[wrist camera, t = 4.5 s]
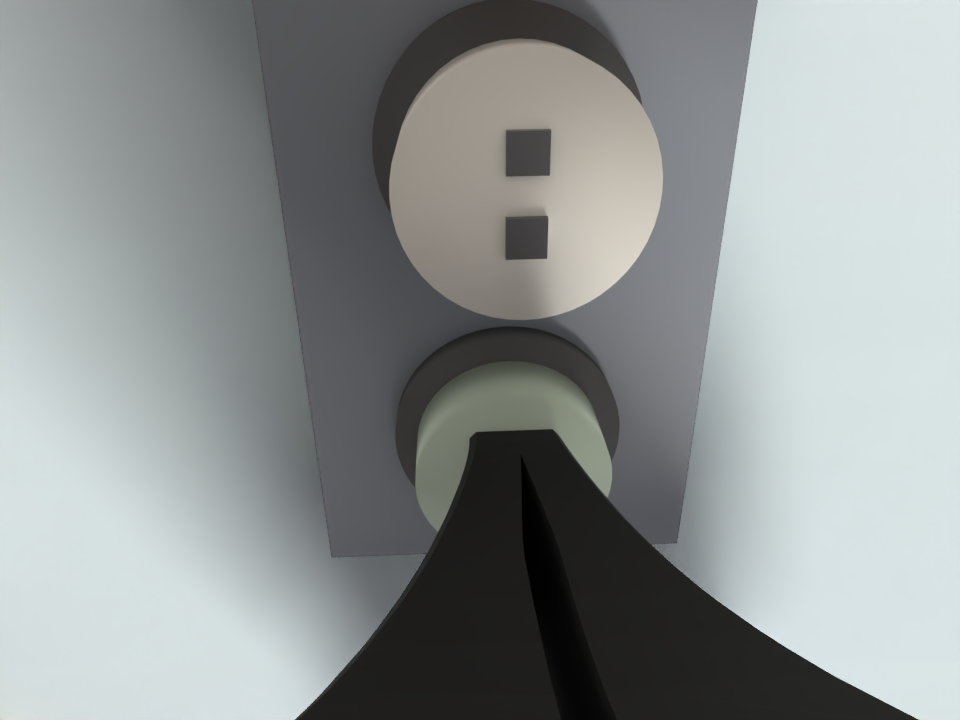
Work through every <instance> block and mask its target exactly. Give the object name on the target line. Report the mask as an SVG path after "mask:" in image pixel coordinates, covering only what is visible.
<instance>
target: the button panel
mask: <svg viewBox="0 0 960 720" xmlns="http://www.w3.org/2000/svg"><path fill="white" fill-rule="evenodd" d="M252 2H253V9H254V16H255V23H256V30H257V37H258V44H259V51H260V58H261V65H262V72H263V79H264V86H265V93H266V100H267V107H268V114H269V121H270V128H271V136H272V143H273V150H274V157H275V164H276V171H277V178H278V185H279V192H280V199H281V206H282V213H283V220H284V227H285V234H286V241H287V248H288V255H289V262H290V269H291V276H292V283H293V290H294V297H295V304H296V311H297V318H298V325H299V332H300V339H301V346H302V353H303V360H304V367H305V374H306V381H307V388H308V395H309V402H310V409H311V416H312V423H313V430H314V437H315V444H316V451H317V458H318V465H319V472H320V479H321V486H322V493H323V500H324V507H325V514H326V521H327V528H328V535H329V542H330V549H331V556H332V557H355V556H379V555H403V554H427V553H428V551H429V549H430V547H431V545H432V543H433V541H434V539H435V537H436V535H437V533H438V532H437V531H436V529H435V528H434V527H433V526H432V525H431V524H430V523H429V521H428V520H427V518H426V517H425V515H424V514H423V512H422V510H421V508H420V505H419V502H418V499H417V494H416V488H415V475H416V457H417V438H418V430H419V424H420V421H421V418H422V415H423V413H424V411H425V409H426V407H427V405H428V404H429V402H430V401H431V400H432V398H433V397H434V395H435V394H436V393H437V392H438V391H439V390H440V389H441V388H442V387H443V386H444V385H446V384H447V383H448V382H449V381H451V380H452V379H454V378H455V377H457V376H458V375H460V374H462V373H464V372H466V371H468V370H470V369H472V368H475V367H478V366H481V365H485V364H489V363H494V362H503V361H523V362H530V363H535V364H539V365H543V366H546V367H548V368H551V369H553V370H556V371H558V372H559V373H561V374H563V375H565V376H566V377H568V378H569V379H570V380H572V381H573V382H574V383H575V384H576V385H577V386H578V387H579V388H580V389H581V390H582V391H583V392H584V394H585V395H586V396H587V398H588V399H589V401H590V403H591V405H592V407H593V409H594V412H595V415H596V417H597V420H598V423H599V426H600V429H601V432H602V435H603V437H604V440H605V443H606V446H607V449H608V452H609V455H610V458H611V464H612V482H611V488H610V492H609V495H608V499H609V500H610V502H611V503H612V504H613V505H614V506H615V507H616V508H617V510H618V511H619V512H620V513H621V514H622V515H623V516H624V517H625V518H626V519H627V520H628V522H629V523H630V524H631V525H632V526H633V527H634V528H635V529H636V530H637V531H638V532H639V533H640V534H641V535H642V536H643V537H644V538H645V539H646V540H647V541H648V542H649V543H650V544H666V543H677V538H678V532H679V525H680V518H681V512H682V505H683V498H684V491H685V485H686V478H687V471H688V464H689V458H690V451H691V444H692V437H693V431H694V424H695V417H696V411H697V404H698V397H699V390H700V384H701V377H702V370H703V363H704V357H705V350H706V343H707V336H708V330H709V323H710V316H711V309H712V303H713V296H714V289H715V283H716V276H717V269H718V262H719V256H720V249H721V242H722V235H723V229H724V222H725V215H726V208H727V202H728V195H729V188H730V181H731V175H732V168H733V161H734V155H735V148H736V141H737V134H738V128H739V121H740V114H741V107H742V101H743V94H744V87H745V80H746V74H747V67H748V60H749V53H750V47H751V40H752V33H753V27H754V20H755V13H756V6H757V0H252ZM518 38H520V39H537V40H542V41H547V42H552V43H555V44H558V45H560V46H563V47H566V48H569V49H571V50H573V51H574V52H576V53H578V54H580V55H582V56H584V57H586V58H587V59H589V60H591V61H593V62H595V63H596V64H598V65H600V66H602V67H603V68H605V69H606V70H607V71H609V72H610V73H611V74H613V75H614V76H616V77H617V78H618V79H619V80H620V81H621V82H622V83H623V84H624V85H625V86H626V87H627V88H628V89H629V90H630V91H631V92H632V93H633V95H634V96H635V97H636V99H637V100H638V101H639V103H640V104H641V105H642V107H643V109H644V110H645V112H646V114H647V116H648V118H649V119H650V121H651V124H652V126H653V129H654V131H655V134H656V137H657V140H658V144H659V148H660V153H661V157H662V168H663V188H662V197H661V203H660V209H659V212H658V216H657V219H656V222H655V226H654V228H653V230H652V233H651V235H650V237H649V239H648V242H647V243H646V245H645V247H644V248H643V250H642V252H641V253H640V255H639V257H638V258H637V259H636V261H635V262H634V263H633V265H632V266H631V267H630V268H629V270H628V271H627V272H626V273H625V274H624V275H623V276H622V277H621V278H620V279H619V280H618V281H617V282H616V283H615V284H614V285H613V286H611V287H610V288H609V289H608V290H606V291H605V292H604V293H603V294H601V295H600V296H598V297H596V298H595V299H593V300H592V301H590V302H588V303H586V304H584V305H582V306H580V307H578V308H576V309H574V310H571V311H568V312H565V313H562V314H559V315H556V316H551V317H546V318H541V319H531V320H507V319H501V318H494V317H490V316H486V315H482V314H479V313H476V312H473V311H471V310H468V309H466V308H464V307H461V306H460V305H458V304H456V303H454V302H453V301H451V300H449V299H447V298H446V297H445V296H443V295H442V294H441V293H439V292H438V291H437V290H435V289H434V288H433V287H432V286H431V285H430V284H429V283H428V282H427V281H426V280H425V279H424V278H423V277H422V276H421V275H420V273H419V272H418V271H417V270H416V268H415V267H414V266H413V265H412V263H411V261H410V260H409V258H408V256H407V255H406V253H405V251H404V250H403V247H402V245H401V243H400V240H399V238H398V236H397V233H396V230H395V226H394V223H393V219H392V214H391V207H390V200H389V179H390V171H391V163H392V159H393V156H394V152H395V148H396V144H397V141H398V137H399V133H400V130H401V126H402V123H403V121H404V119H405V116H406V114H407V111H408V109H409V107H410V106H411V104H412V102H413V101H414V99H415V97H416V95H417V94H418V93H419V91H420V90H421V89H422V87H423V86H424V85H425V84H426V82H427V81H428V80H429V79H430V78H431V77H432V76H433V75H434V74H435V73H436V72H437V71H438V70H439V69H440V68H442V67H443V66H444V65H446V64H447V63H448V62H450V61H451V60H452V59H454V58H456V57H457V56H459V55H461V54H463V53H465V52H466V51H468V50H470V49H473V48H476V47H478V46H481V45H483V44H487V43H491V42H495V41H499V40H507V39H518Z"/></svg>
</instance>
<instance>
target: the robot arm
mask: <svg viewBox="0 0 960 720" xmlns="http://www.w3.org/2000/svg"><path fill="white" fill-rule="evenodd" d="M295 720H918V719H916V718H914V717H912V716H910V715H908V714H906V713H904V712H902V711H900V710H899V709H897V708H895V707H893V706H891V705H889V704H887V703H885V702H883V701H881V700H879V699H877V698H875V697H873V696H871V695H869V694H867V693H866V692H864V691H862V690H860V689H858V688H856V687H854V686H852V685H850V684H848V683H846V682H844V681H842V680H840V679H838V678H837V677H835V676H833V675H831V674H829V673H828V672H826V671H824V670H823V669H821V668H819V667H818V666H816V665H814V664H813V663H811V662H809V661H808V660H806V659H804V658H802V657H801V656H799V655H797V654H796V653H794V652H792V651H791V650H789V649H787V648H786V647H784V646H783V645H781V644H779V643H778V642H776V641H775V640H773V639H772V638H770V637H769V636H767V635H765V634H764V633H762V632H761V631H759V630H758V629H756V628H755V627H753V626H752V625H751V624H749V623H748V622H746V621H745V620H744V619H742V618H741V617H739V616H738V615H736V614H735V613H734V612H732V611H731V610H729V609H728V608H727V607H725V606H724V605H722V604H721V603H719V602H718V601H717V600H715V599H714V598H713V597H712V596H710V595H709V594H708V593H706V592H705V591H704V590H702V589H701V588H700V587H699V586H697V585H696V584H695V583H694V582H692V581H691V580H690V579H689V578H688V577H687V576H685V575H684V574H683V573H682V572H681V571H679V570H678V569H677V568H676V567H675V566H674V565H672V564H671V563H670V562H669V561H668V560H667V559H666V558H665V557H664V556H663V555H662V554H661V553H659V552H658V551H657V550H656V549H655V548H654V547H653V546H652V545H651V544H650V543H649V542H648V541H647V540H646V539H645V538H644V537H643V536H642V535H641V534H640V533H639V532H638V531H637V530H636V529H635V528H634V527H633V526H632V525H631V524H630V523H629V522H628V520H627V519H626V518H625V517H624V516H623V515H622V514H621V513H620V512H619V511H618V510H617V508H616V507H615V506H614V505H613V504H612V503H611V502H610V500H609V499H608V498H607V497H606V496H605V495H604V494H603V492H602V491H601V490H600V489H599V488H598V487H597V485H596V484H595V483H594V482H593V480H592V479H591V478H590V477H589V475H588V474H587V473H586V472H585V470H584V469H583V468H582V467H581V465H580V464H579V463H578V461H577V460H576V459H575V457H574V456H573V455H572V453H571V452H570V450H569V449H568V448H567V446H566V445H565V443H564V442H563V440H562V439H561V437H560V436H559V435H558V434H557V433H556V432H555V431H554V430H553V429H541V430H514V431H486V432H476V433H475V434H474V435H472V436H471V437H470V438H469V451H468V456H467V461H466V464H465V468H464V471H463V474H462V477H461V480H460V483H459V486H458V488H457V491H456V493H455V496H454V498H453V501H452V503H451V506H450V508H449V511H448V513H447V515H446V517H445V519H444V521H443V523H442V525H441V527H440V529H439V531H438V533H437V535H436V537H435V539H434V541H433V543H432V545H431V547H430V549H429V551H428V553H427V554H426V556H425V558H424V560H423V561H422V563H421V565H420V567H419V568H418V570H417V572H416V573H415V575H414V577H413V578H412V580H411V581H410V583H409V584H408V586H407V587H406V589H405V591H404V592H403V594H402V595H401V597H400V598H399V600H398V601H397V602H396V604H395V605H394V606H393V608H392V609H391V611H390V612H389V613H388V615H387V616H386V617H385V619H384V620H383V622H382V623H381V624H380V626H379V627H378V628H377V630H376V631H375V632H374V634H373V635H372V636H371V637H370V639H369V640H368V641H367V642H366V644H365V645H364V646H363V647H362V649H361V650H360V651H359V652H358V653H357V654H356V655H355V657H354V658H353V659H352V660H351V661H350V662H349V663H348V664H347V666H346V667H345V668H344V669H343V670H342V671H341V672H340V673H339V675H338V676H337V677H336V678H335V679H334V680H333V681H332V682H331V684H330V685H329V686H328V687H327V688H326V689H325V690H324V692H323V693H322V694H321V695H320V696H319V697H318V698H317V699H316V700H315V701H314V702H313V703H312V704H311V705H310V706H309V707H308V708H307V709H306V710H305V711H304V712H303V713H302V714H300V715H299V716H298V717H297V718H296V719H295Z"/></svg>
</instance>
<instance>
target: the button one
mask: <svg viewBox="0 0 960 720" xmlns="http://www.w3.org/2000/svg"><path fill="white" fill-rule="evenodd" d="M541 429H553V430H554V431H555V432H556V433H557V434H558V435H559V436H560V437H561V439H562V440H563V442H564V443H565V445H566V446H567V448H568V449H569V450H570V452H571V453H572V455H573V456H574V457H575V459H576V460H577V461H578V463H579V464H580V465H581V467H582V468H583V469H584V470H585V472H586V473H587V474H588V475H589V477H590V478H591V479H592V480H593V482H594V483H595V484H596V485H597V487H598V488H599V489H600V490H601V491H602V492H603V494H604V495H605V496H606V497H607V498H608V495H609V492H610V488H611V482H612V464H611V458H610V455H609V452H608V449H607V446H606V443H605V440H604V437H603V435H602V432H601V429H600V426H599V423H598V420H597V417H596V415H595V412H594V409H593V407H592V405H591V403H590V401H589V399H588V398H587V396H586V395H585V394H584V392H583V391H582V390H581V389H580V388H579V387H578V386H577V385H576V384H575V383H574V382H573V381H572V380H570V379H569V378H568V377H566V376H565V375H563V374H561V373H559V372H558V371H556V370H553V369H551V368H548V367H546V366H543V365H539V364H535V363H530V362H523V361H503V362H494V363H489V364H485V365H481V366H478V367H475V368H472V369H470V370H468V371H466V372H464V373H462V374H460V375H458V376H457V377H455V378H454V379H452V380H451V381H449V382H448V383H447V384H446V385H444V386H443V387H442V388H441V389H440V390H439V391H438V392H437V393H436V394H435V395H434V397H433V398H432V400H431V401H430V402H429V404H428V405H427V407H426V409H425V411H424V413H423V415H422V418H421V421H420V424H419V430H418V438H417V457H416V475H415V488H416V494H417V499H418V502H419V505H420V508H421V510H422V512H423V514H424V515H425V517H426V518H427V520H428V521H429V523H430V524H431V525H432V526H433V527H434V528H435V529H436V531H437V532H438V531H439V529H440V527H441V525H442V523H443V521H444V519H445V517H446V515H447V513H448V511H449V508H450V506H451V503H452V501H453V498H454V496H455V493H456V491H457V488H458V486H459V483H460V480H461V477H462V474H463V471H464V468H465V464H466V461H467V456H468V451H469V438H470V437H471V436H472V435H474V434H475V433H476V432H486V431H514V430H541Z"/></svg>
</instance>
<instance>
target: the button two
mask: <svg viewBox="0 0 960 720" xmlns="http://www.w3.org/2000/svg"><path fill="white" fill-rule="evenodd" d="M662 188H663V168H662V157H661V153H660V148H659V144H658V140H657V137H656V134H655V131H654V129H653V126H652V124H651V121H650V119H649V118H648V116H647V114H646V112H645V110H644V109H643V107H642V105H641V104H640V103H639V101H638V100H637V99H636V97H635V96H634V95H633V93H632V92H631V91H630V90H629V89H628V88H627V87H626V86H625V85H624V84H623V83H622V82H621V81H620V80H619V79H618V78H617V77H616V76H614V75H613V74H611V73H610V72H609V71H607V70H606V69H605V68H603V67H602V66H600V65H598V64H596V63H595V62H593V61H591V60H589V59H587V58H586V57H584V56H582V55H580V54H578V53H576V52H574V51H573V50H571V49H569V48H566V47H563V46H560V45H558V44H555V43H552V42H547V41H542V40H537V39H520V38H518V39H507V40H499V41H495V42H491V43H487V44H483V45H481V46H478V47H476V48H473V49H470V50H468V51H466V52H465V53H463V54H461V55H459V56H457V57H456V58H454V59H452V60H451V61H450V62H448V63H447V64H446V65H444V66H443V67H442V68H440V69H439V70H438V71H437V72H436V73H435V74H434V75H433V76H432V77H431V78H430V79H429V80H428V81H427V82H426V84H425V85H424V86H423V87H422V89H421V90H420V91H419V93H418V94H417V95H416V97H415V99H414V101H413V102H412V104H411V106H410V107H409V109H408V111H407V114H406V116H405V119H404V121H403V123H402V126H401V130H400V133H399V137H398V141H397V144H396V148H395V152H394V156H393V159H392V163H391V171H390V179H389V200H390V207H391V214H392V219H393V223H394V226H395V230H396V233H397V236H398V238H399V240H400V243H401V245H402V247H403V250H404V251H405V253H406V255H407V256H408V258H409V260H410V261H411V263H412V265H413V266H414V267H415V268H416V270H417V271H418V272H419V273H420V275H421V276H422V277H423V278H424V279H425V280H426V281H427V282H428V283H429V284H430V285H431V286H432V287H433V288H434V289H435V290H437V291H438V292H439V293H441V294H442V295H443V296H445V297H446V298H447V299H449V300H451V301H453V302H454V303H456V304H458V305H460V306H461V307H464V308H466V309H468V310H471V311H473V312H476V313H479V314H482V315H486V316H490V317H494V318H501V319H507V320H531V319H541V318H546V317H551V316H556V315H559V314H562V313H565V312H568V311H571V310H574V309H576V308H578V307H580V306H582V305H584V304H586V303H588V302H590V301H592V300H593V299H595V298H596V297H598V296H600V295H601V294H603V293H604V292H605V291H606V290H608V289H609V288H610V287H611V286H613V285H614V284H615V283H616V282H617V281H618V280H619V279H620V278H621V277H622V276H623V275H624V274H625V273H626V272H627V271H628V270H629V268H630V267H631V266H632V265H633V263H634V262H635V261H636V259H637V258H638V257H639V255H640V253H641V252H642V250H643V248H644V247H645V245H646V243H647V242H648V239H649V237H650V235H651V233H652V230H653V228H654V226H655V222H656V219H657V216H658V212H659V209H660V203H661V197H662Z"/></svg>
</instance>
